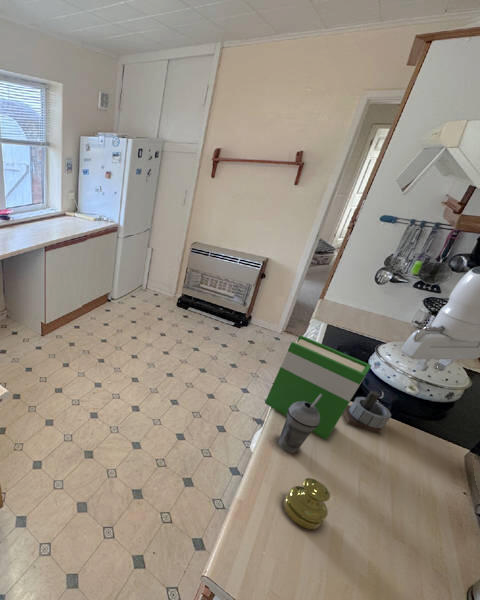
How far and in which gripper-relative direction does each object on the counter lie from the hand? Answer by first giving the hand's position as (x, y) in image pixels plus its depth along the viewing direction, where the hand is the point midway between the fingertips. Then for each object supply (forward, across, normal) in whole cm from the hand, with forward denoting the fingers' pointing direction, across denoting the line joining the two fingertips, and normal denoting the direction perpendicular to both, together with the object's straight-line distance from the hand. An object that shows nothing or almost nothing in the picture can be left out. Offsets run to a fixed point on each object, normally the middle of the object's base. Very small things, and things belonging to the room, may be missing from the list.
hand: (428, 369), depth 88 cm
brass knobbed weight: (+23, -46, -23) cm, 56 cm away
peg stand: (+23, -7, +4) cm, 24 cm away
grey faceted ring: (+22, -5, +4) cm, 22 cm away
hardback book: (+23, -26, +6) cm, 35 cm away
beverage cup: (+23, -37, -5) cm, 44 cm away
